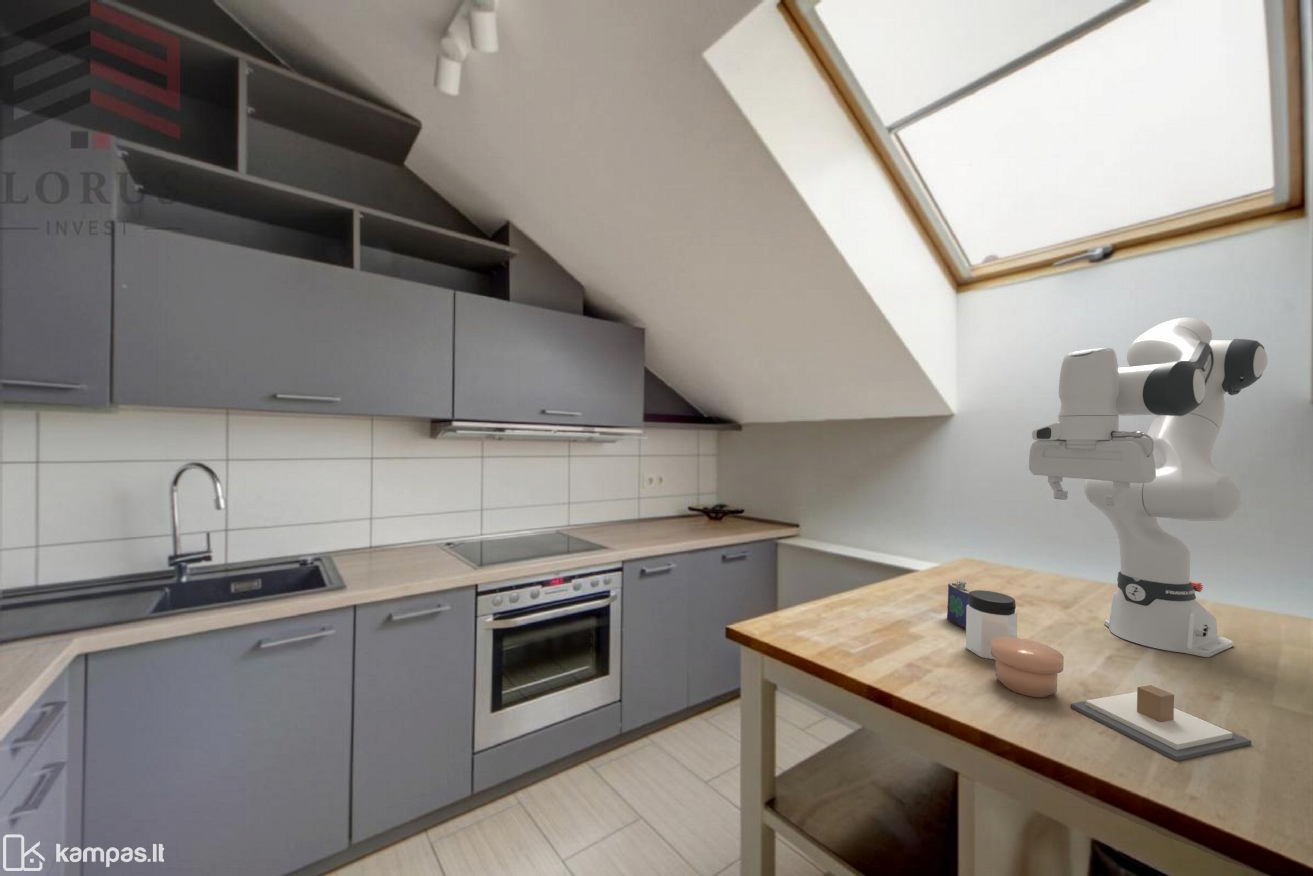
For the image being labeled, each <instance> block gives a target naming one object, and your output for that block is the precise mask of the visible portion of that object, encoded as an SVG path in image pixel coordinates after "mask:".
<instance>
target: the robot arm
mask: <svg viewBox="0 0 1313 876" xmlns="http://www.w3.org/2000/svg"><path fill="white" fill-rule="evenodd" d="M1212 338H1213V333H1212V329H1211V327H1210V326H1209V325H1207V323H1206V322H1204V321H1202V320H1200V319H1198V318H1195V317H1194V318H1193V317H1179V318H1173V319H1170V320H1167V321H1163V322H1162V323H1159V324H1157V325H1155V326H1152V327H1151V328H1149V329H1148V330H1146V331H1145V332H1143V333H1142V334H1141V335H1139V336H1138V337H1137V338H1136V339H1134V340H1133V342H1132V343H1131V344H1130V345H1129V348H1128V349H1127V353H1126V360H1127V363H1128V364H1127V365H1128V366H1124V367H1119V365H1118V364H1119V363H1118V359H1117V354H1116V351H1115V349H1114V348H1110V347H1098V348H1090V349H1089V348H1088V349H1083V350H1075V351H1072V352H1069V353H1067V354H1066V355H1065V356H1063V360H1062V363H1061V365H1060V366H1061V367H1060V371H1059V380H1058V381H1059V382H1058V398H1059V400H1060V410H1059V412H1058V417H1057V420H1058V421H1057V422H1054V423H1051V424H1048V425H1045V426H1042V427H1039V428H1036V429H1033V430H1032V432H1031V439H1032V440H1034V442H1032V444H1031V445H1030V449H1029V454H1028V455H1029V457H1028V459H1029V460H1028V469H1029V471H1030V472H1031V474H1032V475H1033V476H1042V477H1043V476H1044V477H1047V482H1048V484H1049V486H1050V487H1051V489H1052V490H1053V499H1054V500H1061V501H1062V500H1063V501H1064V500H1065V501H1066V500H1068V494H1069V491H1068V490H1064V488H1063V486H1062V484H1061V483H1062V482H1063V479H1064V478H1067V479H1068V478H1069V479H1079V480H1081V479H1082V480H1085V482H1084V485H1083V489H1084V491H1083V492H1084V494H1085V497H1086V498H1087V500H1088V501H1089V503H1090V504H1091V505H1093V506H1094V507H1095V508H1096V509H1098V510H1099V511H1101V512H1102V513H1103V515H1105V516H1106V517H1107V519H1108V520H1109V522H1110V523H1111V525H1112V526H1113V527H1114V530H1115V532H1116V534H1117V538H1118V541H1119V542H1118V543H1119V551H1120V552H1119V554H1120V555H1119V556H1120V571H1119V572H1118V573H1117V580H1116V582H1117V588H1119V589H1118V590H1117V591H1115V592H1113V593H1112V597H1111V605H1110V613H1109V619H1104V622H1103V624H1104V625H1105V626H1107V627H1108V628H1109V631H1110V632H1111V633H1112V634H1113V635H1115V636H1117V637H1119V638H1121V639H1123V640H1127V641H1129V642H1132V643H1134V644H1139V645H1142V646H1146V647H1150V648H1154V649H1158V650H1163V651H1169V652H1176V653H1181V654H1182V653H1184V654H1188V655H1194V656H1198V657H1204V658H1210V657H1212V656H1214V655H1217V654H1219V653H1220V652H1223V651H1225V650H1228V649H1230V648H1232V647H1234V642H1233V640H1231V639H1228V638H1226V637H1224V636H1223V635H1222V636H1221V635H1219V634H1218V623H1217V617H1216V616H1215V615H1214V614H1212V612H1210V611H1209V610H1207V609H1206V607H1204V606H1203V605H1202V604H1201V603H1199V602H1198V601H1197V600H1196V599H1197V596H1196V592H1197V593H1201V592H1203V588H1204V587H1203V584H1202V583H1201V582H1195V581H1192V580H1190V575H1191V574H1190V572H1191V551H1190V549H1189V547H1188V546H1187V545H1186V544H1185V543H1184V541H1182V540H1181V539H1179V538H1178V537H1176V536H1174V535H1172V534H1171V533H1169V532H1166V531H1165V530H1164V529H1163V528H1162V526H1161V525H1160V524H1159V523H1158V520H1157V519H1158V518H1163V519H1170V520H1171V519H1172V520H1178V521H1180V520H1181V521H1189V522H1221V521H1226V520H1228V519H1230V518H1232V517H1233V516H1235V514H1237V512H1238V511H1239V510H1240V508H1241V506H1242V502H1243V495H1242V492H1241V489H1240V487H1239V486H1238V484H1237V483H1236V482H1235V481H1234V480H1233V479H1231V478H1230V477H1229V476H1226V475H1225V474H1223V473H1222V472H1220V471H1218V469H1216V468H1215V465H1213V463H1212V454H1213V450H1214V446H1215V443H1216V440H1217V438H1218V435H1219V433H1220V431H1221V427H1222V424H1223V420H1224V414H1225V399H1224V397H1225V394H1226V393H1227V394H1229V395H1230V396H1235V395H1238V394H1239V393H1241V391H1242V390H1243V389H1246V388H1248V387H1250V386H1252V385H1253V384H1255V383H1256V382H1258V380H1259V379H1261V378H1262V376H1263V374H1264V372H1265V370H1266V368H1267V365H1268V355H1267V352H1266V350H1265V346H1264V345H1263V344H1262V343H1260V342H1259V341H1258V340H1254V339H1244V338H1234V339H1233V340H1231V339H1229V340H1228V339H1212ZM1123 416H1126V417H1127V416H1154V418H1153V420H1152V422H1151V424H1150V426H1149V428H1148V431H1147V432H1146V433H1145V432H1143V431H1141V430H1140V431H1139V430H1137V431H1136V430H1135V431H1125V430H1122V431H1121V430H1120V431H1119V426H1120V425H1119V422H1120V421H1119V420H1120V419H1119V417H1123ZM1155 463H1156V464H1158V465H1159V466H1162V467H1158V468H1157V467H1156V464H1155Z"/></svg>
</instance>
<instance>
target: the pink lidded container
mask: <svg viewBox="0 0 1313 876" xmlns="http://www.w3.org/2000/svg"><path fill="white" fill-rule="evenodd" d="M991 655H992V656H993V657H994V658H995V659H996V660H995V664H994V665H995V669H994V670H995V671H994V672H995V673H994V674H995V677H996V678H997V680H998V681H999V682H1001V684H1002V685H1003V686H1004V687H1006V688H1007V689H1009V690H1011V691H1012V692H1015V693H1018V694H1020V695H1024V696H1026V697H1032V698H1047V697H1050V695H1055V694H1056V693H1057V691H1058V674H1061V673H1062V672H1064V660H1065V658H1064V655H1063V654H1062V653H1061V652H1060V651H1059V650H1057V649H1056V648H1053V647H1052V646H1048V645H1046V644H1043V643H1040V642H1037V641H1034V640H1029V639H1025V638H1020V637H1017V638H1014V637H997V638H994V639H992V640H991Z"/></svg>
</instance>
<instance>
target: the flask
mask: <svg viewBox="0 0 1313 876" xmlns="http://www.w3.org/2000/svg"><path fill="white" fill-rule="evenodd" d="M966 585H967V582H966V581H962V580H956V582H948V584H947V587H948V589H947V607H946V608H947V609H946V610H947V611H946V612H947V614H946V615H947V616H946V619H947V621H948V622H949V623H952V624H953V625H955V626H957V627H959V628H961V629H963V630H964V631H966V606H967V605H968V604H969V592H971V591H972V590H970V589H967V588H966Z"/></svg>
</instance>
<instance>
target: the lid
mask: <svg viewBox="0 0 1313 876" xmlns="http://www.w3.org/2000/svg"><path fill="white" fill-rule="evenodd" d="M1136 689H1137V691H1135V692H1129V693H1123V694H1117V695H1112V696H1105V697H1099V698H1093V699H1085V701H1086V702H1085V705H1086V706H1088V707H1090V708H1092V709H1094V710H1096V711H1098V712H1100V713H1102V714H1104V715H1106V716H1108V717H1110V718H1112V719H1115V720H1117V721H1119V722H1121V723H1123V724H1125V725H1127V726H1129V727H1131V728H1133V729H1135V730H1137V731H1139V732H1141V733H1143V734H1145V735H1147V736H1149V737H1151V738H1153V739H1155V740H1158V741H1160V742H1162V743H1164V744H1166V745H1168V746H1170V747H1172V748H1174V749H1176V750H1179V749H1184V748H1189V747H1193V746H1198V745H1203V744H1207V743H1212V742H1217V741H1221V740H1226V739H1230V738H1233V733H1234V732H1233V733H1232V731H1230V730H1228V729H1226V730H1225V728H1224V727H1221V726H1219V727H1218V725H1216V724H1214V723H1212V724H1211V722H1209V721H1207V720H1205V719H1202V720H1201V718H1200V717H1197V716H1195V715H1193V716H1192V714H1190V713H1188V712H1186V713H1185V711H1183V710H1181V709H1179V710H1178V708H1176V707H1175V694H1174V693H1173V692H1168V691H1166V690H1165V689H1162V688H1159V687H1156V686H1155V685H1152V684H1150V685H1149V684H1148V685H1143V686H1137V688H1136ZM1180 710H1181V711H1180ZM1187 713H1188V714H1187ZM1194 716H1195V717H1194ZM1199 718H1200V719H1199ZM1204 720H1205V721H1204ZM1206 721H1207V722H1206ZM1208 722H1209V723H1208ZM1213 724H1214V725H1213ZM1220 727H1221V728H1220ZM1227 730H1228V731H1227Z"/></svg>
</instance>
